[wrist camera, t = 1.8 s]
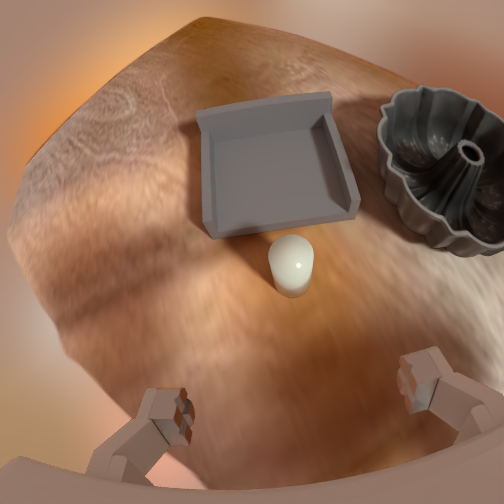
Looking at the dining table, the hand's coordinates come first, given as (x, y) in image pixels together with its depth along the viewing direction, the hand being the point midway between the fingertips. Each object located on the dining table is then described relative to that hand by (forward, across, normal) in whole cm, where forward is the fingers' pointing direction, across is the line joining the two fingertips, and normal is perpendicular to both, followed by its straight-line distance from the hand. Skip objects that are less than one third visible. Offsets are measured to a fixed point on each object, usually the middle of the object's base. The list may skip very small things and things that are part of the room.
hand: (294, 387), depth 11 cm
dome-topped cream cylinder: (+26, +1, -10) cm, 28 cm away
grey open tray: (+36, +1, 0) cm, 36 cm away
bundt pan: (+33, +27, -4) cm, 42 cm away
